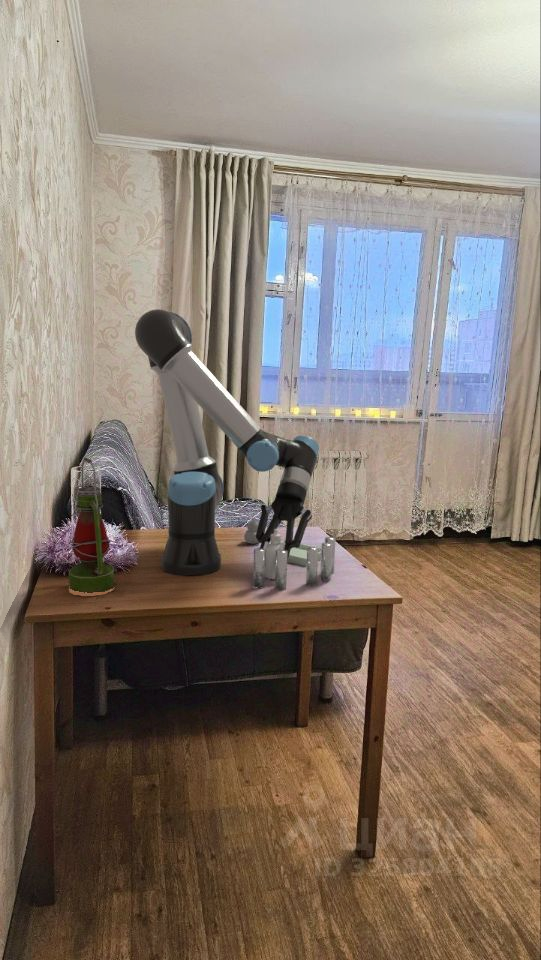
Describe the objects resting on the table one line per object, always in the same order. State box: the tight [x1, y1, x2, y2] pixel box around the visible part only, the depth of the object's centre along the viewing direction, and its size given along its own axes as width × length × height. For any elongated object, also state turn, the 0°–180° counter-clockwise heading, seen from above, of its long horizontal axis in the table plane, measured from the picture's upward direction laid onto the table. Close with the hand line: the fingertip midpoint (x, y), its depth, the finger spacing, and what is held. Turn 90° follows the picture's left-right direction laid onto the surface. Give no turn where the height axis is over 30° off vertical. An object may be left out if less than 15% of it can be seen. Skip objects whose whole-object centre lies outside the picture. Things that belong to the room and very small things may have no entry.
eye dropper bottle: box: [264, 528, 282, 581], centre depth 155 cm, size 4×6×12 cm
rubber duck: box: [243, 516, 259, 545], centre depth 183 cm, size 5×7×8 cm
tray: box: [281, 539, 322, 567], centre depth 172 cm, size 14×11×2 cm
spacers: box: [252, 536, 336, 591], centre depth 151 cm, size 7×23×9 cm, turn 122°
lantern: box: [68, 457, 116, 593], centre depth 142 cm, size 14×11×30 cm
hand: (269, 568), depth 152 cm, fingers closed on eye dropper bottle, 3 cm apart
